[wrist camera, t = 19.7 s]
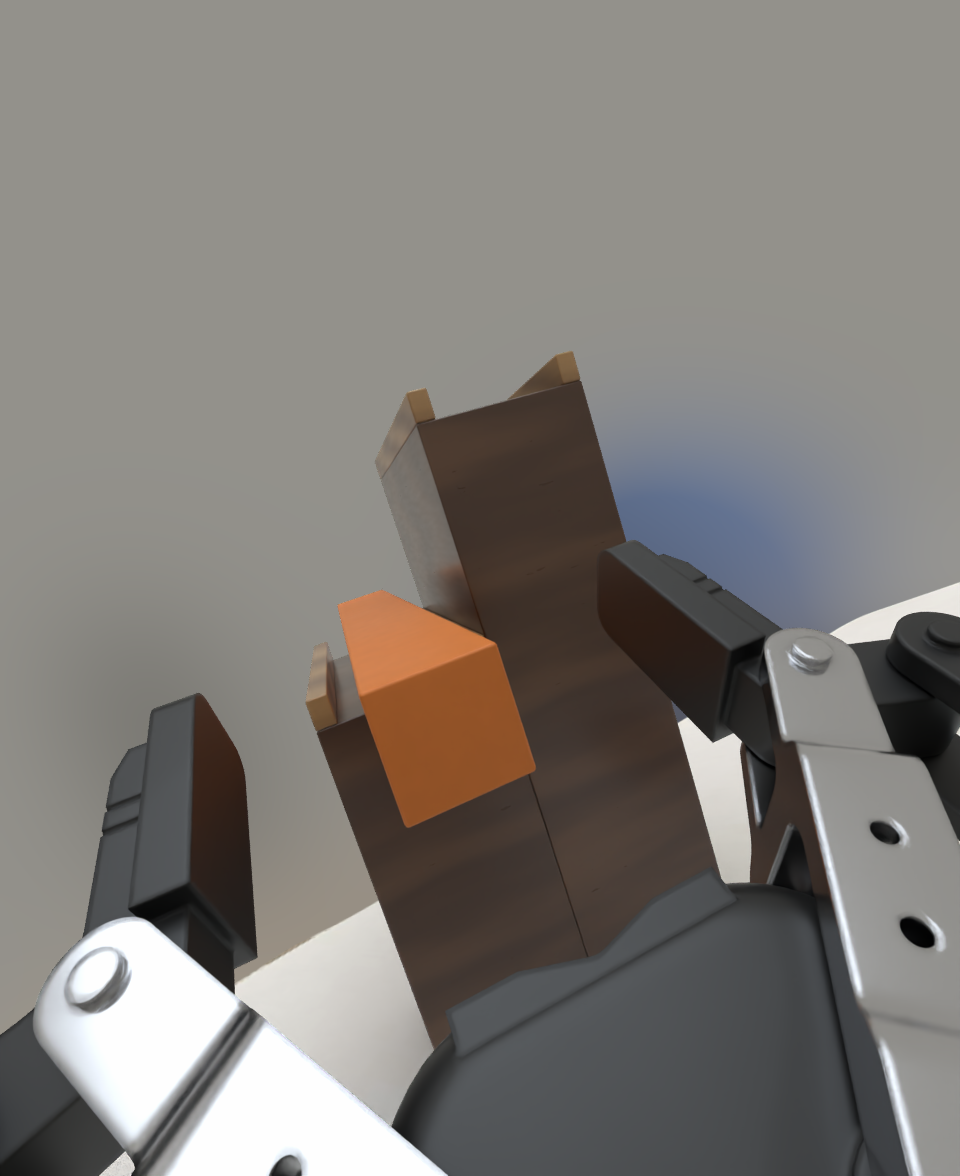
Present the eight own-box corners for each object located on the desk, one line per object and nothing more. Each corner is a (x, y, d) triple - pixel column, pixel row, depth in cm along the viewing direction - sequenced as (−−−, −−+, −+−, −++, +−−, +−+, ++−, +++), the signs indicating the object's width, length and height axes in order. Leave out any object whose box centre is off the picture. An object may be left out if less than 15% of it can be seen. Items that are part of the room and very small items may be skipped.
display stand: (771, 1054, 26) (573, 349, 22) (501, 1233, 23) (208, 441, 19) (619, 886, 39) (479, 431, 35) (436, 984, 36) (258, 493, 32)
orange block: (538, 771, 12) (496, 641, 12) (406, 830, 11) (357, 694, 11) (397, 632, 36) (382, 589, 36) (352, 649, 35) (337, 604, 35)
